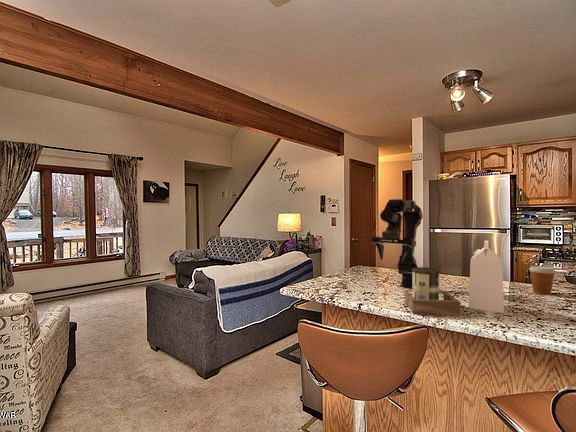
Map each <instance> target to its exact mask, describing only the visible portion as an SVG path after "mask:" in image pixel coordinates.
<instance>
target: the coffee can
mask: <svg viewBox="0 0 576 432" xmlns="http://www.w3.org/2000/svg"><path fill="white" fill-rule="evenodd" d="M411 289H412V290H411V291H412V293H411V295H412V296H413V297H414V298H415V299H419V300H440V270H439V269H438V268H434V267H422V266H421V267H418V266H417V268H412V288H411Z"/></svg>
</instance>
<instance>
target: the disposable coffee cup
mask: <svg viewBox="0 0 576 432" xmlns="http://www.w3.org/2000/svg"><path fill="white" fill-rule="evenodd" d="M528 270H529V272H530V278H531V285H532V286H531V287H532V291H533V293H534V294H537V295H542V296H550V295H551V294H552V288H553V284H554V283H553V282H554V276H555V273H557V272H556V270H555V267H551V266H545V265H530V267H529V268H528Z"/></svg>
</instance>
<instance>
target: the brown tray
mask: <svg viewBox="0 0 576 432" xmlns="http://www.w3.org/2000/svg"><path fill="white" fill-rule="evenodd" d="M442 294H443V295H442V296H443V297H442V298H443V299H439V300H419V299H415V298H414V297H413V296H412V293H410V292H409V291H408V290H404V304H405V305H406V307H407V308H408V309H409V310H410V312H411V313H412V314H413V315H434V316H435V315H436V316H455V317H456V316H457V317H458V316H459V317H460V316H461V301H460V300H458V299H457V298H456V297H455V296H453V295H452V294H451V293H448V292H447V291H443V293H442Z"/></svg>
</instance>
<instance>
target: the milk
mask: <svg viewBox="0 0 576 432" xmlns="http://www.w3.org/2000/svg"><path fill="white" fill-rule="evenodd" d="M483 245H484V246H483V248H481V249H479V248H477V250H475V251H474V252H473V255H472V257H471V258H470V267H469V270H470V271H469V292H468V309H471V308H473V310H478V309H479V311H486V312H491V313H492V312H494V313H501V314H505V307H504V306H505V302H504V301H505V300H504V299H505V298H504V277H503V275H504V274H503V259H502V258H501V257H500V256H499V255H498V254H496V253H495V252H494V251H493V250H492V249H491V248H490V247H489V240H484V244H483Z"/></svg>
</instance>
